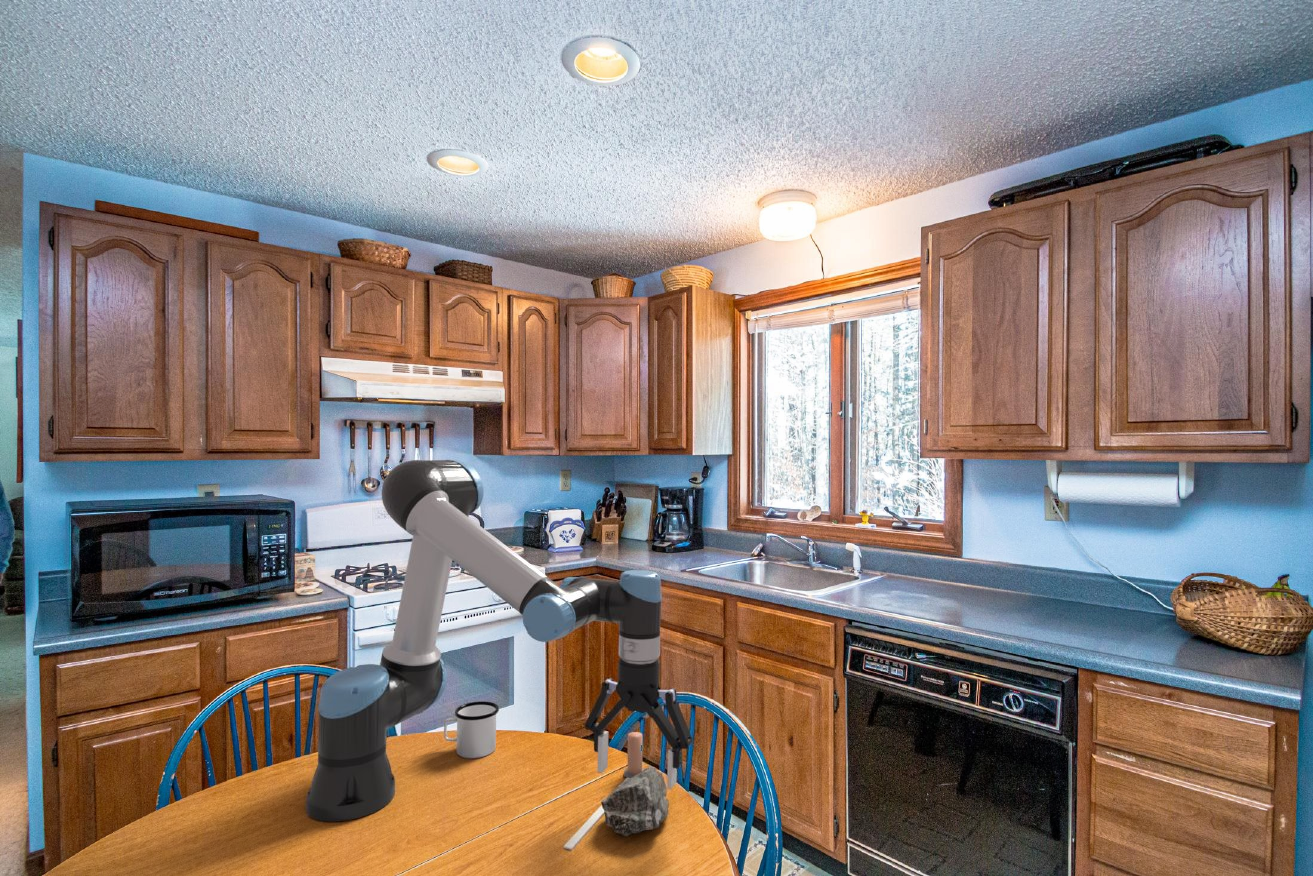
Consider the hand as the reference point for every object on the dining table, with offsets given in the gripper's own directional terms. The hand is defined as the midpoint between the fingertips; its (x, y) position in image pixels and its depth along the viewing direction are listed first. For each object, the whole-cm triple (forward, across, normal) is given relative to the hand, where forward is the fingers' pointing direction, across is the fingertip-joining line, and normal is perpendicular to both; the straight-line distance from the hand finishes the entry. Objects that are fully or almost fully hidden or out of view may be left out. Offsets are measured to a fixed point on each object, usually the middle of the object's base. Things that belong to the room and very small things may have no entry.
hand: (636, 777), depth 116 cm
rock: (+7, 0, 0) cm, 7 cm away
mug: (+8, -44, +11) cm, 47 cm away
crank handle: (+7, -7, +2) cm, 10 cm away
